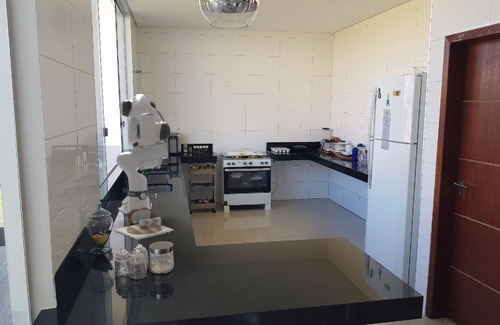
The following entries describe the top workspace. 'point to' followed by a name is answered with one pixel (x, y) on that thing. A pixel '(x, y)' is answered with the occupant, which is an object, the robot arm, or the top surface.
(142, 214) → the bread slice
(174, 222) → the top surface
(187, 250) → the top surface
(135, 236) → the white flat square board
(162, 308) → the top surface
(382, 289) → the top surface
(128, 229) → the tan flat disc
